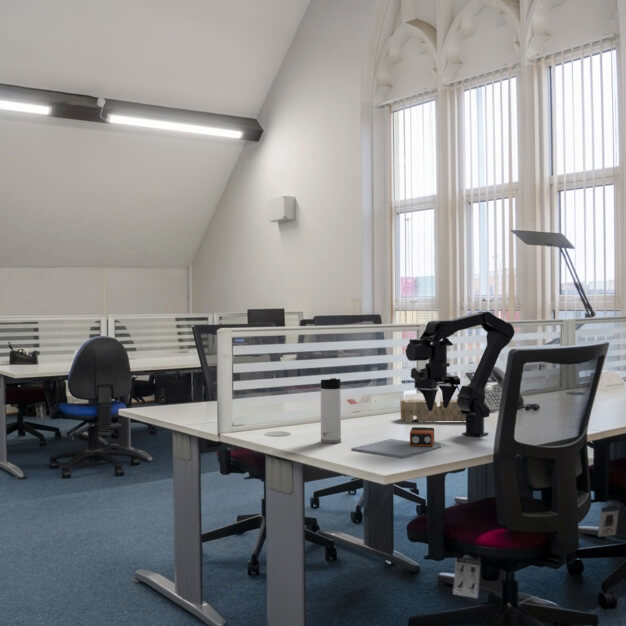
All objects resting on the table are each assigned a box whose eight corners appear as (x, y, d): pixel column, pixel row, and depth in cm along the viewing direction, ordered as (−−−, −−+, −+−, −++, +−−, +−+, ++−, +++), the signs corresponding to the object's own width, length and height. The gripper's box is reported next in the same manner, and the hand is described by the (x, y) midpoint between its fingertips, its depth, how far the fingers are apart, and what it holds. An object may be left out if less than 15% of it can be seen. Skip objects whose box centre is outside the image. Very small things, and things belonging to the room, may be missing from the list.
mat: (390, 440, 229) (390, 438, 229) (440, 447, 217) (440, 445, 217) (351, 450, 213) (351, 448, 213) (403, 458, 202) (403, 455, 202)
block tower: (401, 425, 267) (482, 423, 264) (400, 401, 267) (481, 400, 264) (401, 421, 275) (480, 420, 272) (400, 399, 275) (479, 397, 272)
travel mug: (324, 444, 223) (324, 378, 223) (318, 440, 229) (318, 376, 229) (344, 443, 225) (343, 378, 224) (337, 439, 231) (337, 376, 231)
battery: (411, 426, 225) (409, 432, 215) (434, 427, 223) (432, 432, 213) (411, 441, 225) (409, 447, 215) (434, 441, 223) (432, 447, 213)
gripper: (431, 357, 245) (431, 404, 245) (400, 360, 231) (400, 410, 231) (461, 359, 238) (461, 407, 238) (430, 362, 224) (430, 413, 224)
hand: (437, 409), depth 233 cm, fingers open, 9 cm apart
